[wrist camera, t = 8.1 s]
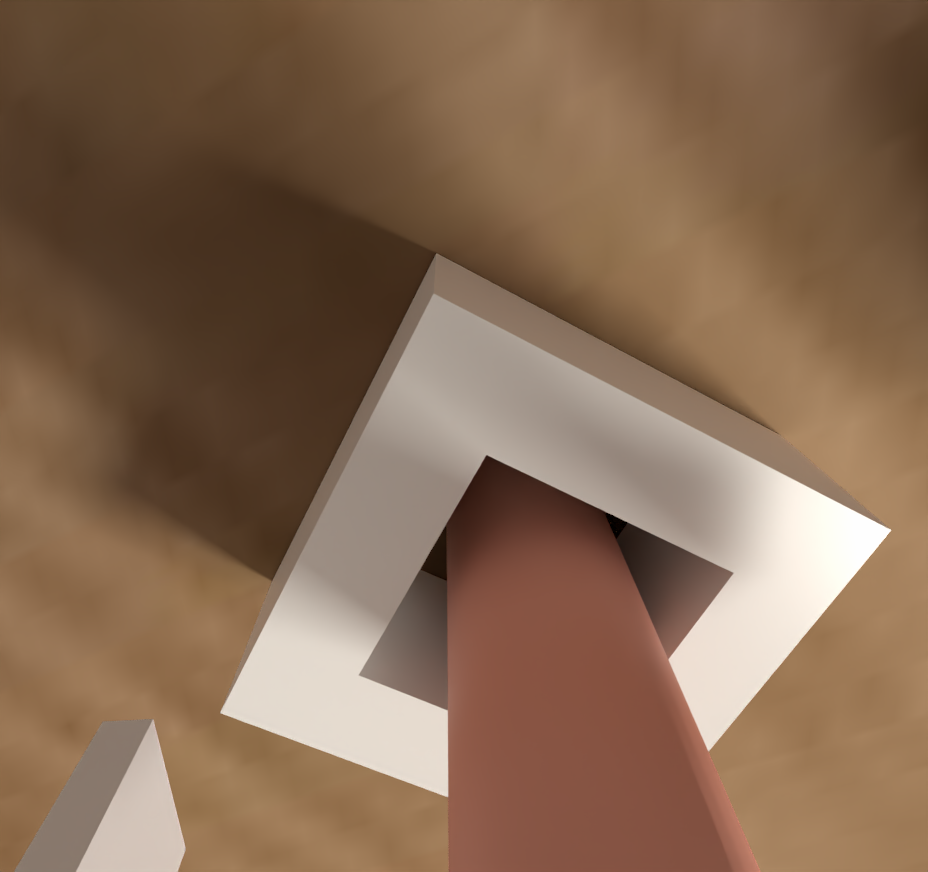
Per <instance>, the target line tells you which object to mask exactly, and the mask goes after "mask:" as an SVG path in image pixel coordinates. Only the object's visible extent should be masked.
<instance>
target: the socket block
mask: <svg viewBox="0 0 928 872" xmlns="http://www.w3.org/2000/svg"><path fill="white" fill-rule="evenodd" d="M486 455H488V456H490V457H492V458H494V459H496V460H498V461H500V462H502V463H504V464H506V465H508V466H511V467H513V468H515V469H517V470H519V471H521V472H523V473H525V474H527V475H529V476H532V477H534V478H536V479H538V480H540V481H542V482H544V483H546V484H548V485H550V486H553V487H555V488H557V489H559V490H561V491H563V492H565V493H567V494H569V495H571V496H573V497H576V498H578V499H580V500H582V501H584V502H586V503H588V504H590V505H592V506H594V507H597V508H599V509H601V510H603V511H605V512H607V513H609V514H611V515H613V516H615V517H618V518H620V519H622V520H624V521H626V522H628V523H627V524H626V526H625V527H624V529H623V530H622V532H621V533H620V534H619V536H618V537H617V539H616V541H617V543H618V545H619V547H620V550H621V552H622V554H623V557H624V559H625V561H626V564H627V566H628V568H629V570H630V573H631V575H632V577H633V580H634V582H635V584H636V586H637V589H638V591H639V593H640V596H641V598H642V600H643V603H644V605H645V607H646V609H647V612H648V614H649V616H650V619H651V621H652V623H653V626H654V628H655V630H656V632H657V635H658V637H659V639H660V642H661V644H662V646H663V649H664V651H665V653H666V655H667V658H668V660H669V662H670V665H671V667H672V669H673V672H674V674H675V676H676V678H677V681H678V683H679V685H680V688H681V690H682V692H683V694H684V697H685V699H686V701H687V704H688V706H689V708H690V711H691V713H692V715H693V717H694V720H695V722H696V724H697V727H698V729H699V731H700V734H701V736H702V738H703V740H704V743H705V745H706V747H707V750H708V751H709V750H710V749H711V748H712V747H713V745H714V744H715V743H716V742H717V741H718V739H719V738H720V737H721V736H722V734H723V733H724V732H725V731H726V730H727V728H728V727H729V726H730V725H731V724H732V722H733V721H734V720H735V719H736V718H737V716H738V715H739V714H740V713H741V711H742V710H743V709H744V708H745V707H746V705H747V704H748V703H749V702H750V701H751V699H752V698H753V697H754V696H755V695H756V693H757V692H758V691H759V690H760V688H761V687H762V686H763V685H764V684H765V682H766V681H767V680H768V679H769V678H770V676H771V675H772V674H773V673H774V672H775V670H776V669H777V668H778V667H779V665H780V664H781V663H782V662H783V661H784V659H785V658H786V657H787V656H788V655H789V653H790V652H791V651H792V650H793V649H794V647H795V646H796V645H797V644H798V642H799V641H800V640H801V639H802V638H803V636H804V635H805V634H806V633H807V632H808V630H809V629H810V628H811V627H812V626H813V624H814V623H815V622H816V621H817V619H818V618H819V617H820V616H821V615H822V613H823V612H824V611H825V610H826V609H827V607H828V606H829V605H830V604H831V603H832V601H833V600H834V599H835V598H836V596H837V595H838V594H839V593H840V592H841V590H842V589H843V588H844V587H845V586H846V584H847V583H848V582H849V581H850V580H851V578H852V577H853V576H854V575H855V573H856V572H857V571H858V570H859V569H860V567H861V566H862V565H863V564H864V563H865V561H866V560H867V559H868V558H869V557H870V555H871V554H872V553H873V552H874V550H875V549H876V548H877V547H878V546H879V544H880V543H881V542H882V541H883V540H884V538H885V537H886V536H887V535H888V534H889V532H890V531H891V529H889V528H888V527H887V526H886V525H885V524H884V523H882V522H881V521H880V520H879V519H878V518H877V517H875V516H874V515H873V514H872V513H871V512H870V511H868V510H867V509H866V508H865V507H864V506H863V505H861V504H860V503H859V502H858V501H857V500H856V499H854V498H853V497H852V496H851V495H850V494H849V493H847V492H846V491H845V490H844V489H843V488H842V487H840V486H839V485H838V484H837V483H836V482H835V481H833V480H832V479H831V478H830V477H829V476H828V475H826V474H825V473H824V472H823V471H822V470H821V469H819V468H818V467H817V466H816V465H815V464H814V463H812V462H811V461H810V460H809V459H808V458H807V457H806V456H804V455H803V454H802V453H801V452H800V451H799V450H797V449H796V448H795V447H794V446H793V445H792V444H790V443H789V442H788V441H787V440H786V439H785V438H783V437H782V436H781V435H779V434H777V433H775V432H773V431H771V430H770V429H768V428H766V427H764V426H762V425H760V424H758V423H756V422H754V421H753V420H751V419H749V418H747V417H745V416H743V415H741V414H739V413H737V412H736V411H734V410H732V409H730V408H728V407H726V406H724V405H722V404H720V403H719V402H717V401H715V400H713V399H711V398H709V397H707V396H705V395H704V394H702V393H700V392H698V391H696V390H694V389H692V388H690V387H688V386H687V385H685V384H683V383H681V382H679V381H677V380H675V379H673V378H671V377H670V376H668V375H666V374H664V373H662V372H660V371H658V370H656V369H654V368H653V367H651V366H649V365H647V364H645V363H643V362H641V361H639V360H637V359H636V358H634V357H632V356H630V355H628V354H626V353H624V352H622V351H620V350H619V349H617V348H615V347H613V346H611V345H609V344H607V343H605V342H603V341H602V340H600V339H598V338H596V337H594V336H592V335H590V334H588V333H586V332H585V331H583V330H581V329H579V328H577V327H575V326H573V325H571V324H569V323H568V322H566V321H564V320H562V319H560V318H558V317H556V316H554V315H552V314H551V313H549V312H547V311H545V310H543V309H541V308H539V307H537V306H535V305H534V304H532V303H530V302H528V301H526V300H524V299H522V298H520V297H518V296H517V295H515V294H513V293H511V292H509V291H507V290H505V289H503V288H501V287H500V286H498V285H496V284H494V283H492V282H490V281H488V280H486V279H484V278H483V277H481V276H479V275H477V274H475V273H473V272H471V271H469V270H467V269H466V268H464V267H462V266H460V265H458V264H456V263H454V262H452V261H450V260H449V259H447V258H445V257H443V256H441V255H439V254H437V253H436V255H435V257H434V259H433V261H432V263H431V265H430V267H429V269H428V271H427V273H426V275H425V277H424V279H423V281H422V283H421V285H420V287H419V289H418V291H417V293H416V295H415V297H414V299H413V301H412V303H411V305H410V307H409V309H408V311H407V313H406V315H405V317H404V319H403V321H402V323H401V325H400V327H399V329H398V331H397V333H396V335H395V337H394V339H393V341H392V343H391V345H390V347H389V349H388V351H387V353H386V355H385V357H384V359H383V361H382V363H381V365H380V367H379V369H378V371H377V373H376V375H375V377H374V379H373V381H372V383H371V385H370V387H369V389H368V391H367V393H366V395H365V397H364V399H363V401H362V403H361V405H360V407H359V409H358V411H357V413H356V415H355V417H354V419H353V421H352V423H351V425H350V427H349V429H348V431H347V433H346V435H345V437H344V439H343V441H342V443H341V445H340V447H339V449H338V451H337V453H336V455H335V457H334V459H333V461H332V463H331V465H330V467H329V469H328V471H327V473H326V475H325V477H324V479H323V481H322V483H321V485H320V487H319V489H318V491H317V493H316V495H315V497H314V499H313V501H312V503H311V505H310V507H309V509H308V510H307V512H306V514H305V516H304V518H303V520H302V522H301V524H300V526H299V528H298V530H297V532H296V534H295V536H294V538H293V540H292V542H291V544H290V546H289V548H288V550H287V552H286V554H285V556H284V558H283V560H282V562H281V564H280V566H279V568H278V570H277V572H276V574H275V576H274V578H273V580H272V583H271V585H270V588H269V590H268V593H267V595H266V598H265V600H264V603H263V605H262V608H261V610H260V613H259V616H258V618H257V621H256V623H255V626H254V628H253V631H252V633H251V636H250V638H249V641H248V644H247V646H246V649H245V651H244V654H243V656H242V659H241V661H240V664H239V666H238V669H237V671H236V674H235V677H234V679H233V682H232V684H231V687H230V689H229V692H228V694H227V697H226V699H225V702H224V705H223V707H222V710H221V712H220V713H222V714H224V715H227V716H230V717H232V718H235V719H238V720H241V721H243V722H246V723H249V724H251V725H254V726H257V727H259V728H262V729H265V730H268V731H270V732H273V733H276V734H278V735H281V736H284V737H286V738H289V739H292V740H295V741H297V742H300V743H303V744H305V745H308V746H311V747H314V748H316V749H319V750H322V751H324V752H327V753H330V754H332V755H335V756H338V757H341V758H343V759H346V760H349V761H351V762H354V763H357V764H360V765H362V766H365V767H368V768H370V769H373V770H376V771H378V772H381V773H384V774H387V775H389V776H392V777H395V778H397V779H400V780H403V781H406V782H408V783H411V784H414V785H416V786H419V787H422V788H424V789H427V790H430V791H433V792H435V793H438V794H441V795H443V796H446V797H448V667H447V581H446V580H443V579H441V578H439V577H436V576H434V575H432V574H429V573H427V572H425V571H422V570H420V569H421V567H422V565H423V563H424V562H425V560H426V558H427V556H428V555H429V553H430V551H431V550H432V548H433V546H434V544H435V543H436V541H437V539H438V537H439V536H440V534H441V532H442V531H443V529H444V527H445V525H446V524H447V522H448V520H449V519H450V517H451V515H452V513H453V512H454V510H455V508H456V506H457V505H458V503H459V501H460V500H461V498H462V496H463V494H464V493H465V491H466V489H467V487H468V486H469V484H470V482H471V481H472V479H473V477H474V475H475V474H476V472H477V470H478V469H479V467H480V465H481V463H482V462H483V460H484V458H485V456H486Z"/></svg>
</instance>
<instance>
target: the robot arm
mask: <svg viewBox="0 0 928 872" xmlns="http://www.w3.org/2000/svg"><path fill="white" fill-rule="evenodd" d="M185 850H186V848H185V844H184V840H183V836H182V832H181V828H180V824H179V820H178V816H177V812H176V808H175V804H174V800H173V796H172V792H171V788H170V784H169V780H168V776H167V772H166V768H165V764H164V760H163V756H162V752H161V748H160V744H159V740H158V736H157V732H156V728H155V724H154V720H153V719H145V720H125V721H105V722H102V724H101V726H100V727H99V729H98V731H97V732H96V734H95V736H94V737H93V739H92V741H91V742H90V744H89V746H88V748H87V749H86V751H85V753H84V754H83V756H82V758H81V759H80V761H79V763H78V764H77V766H76V768H75V770H74V771H73V773H72V775H71V776H70V778H69V780H68V781H67V783H66V785H65V786H64V788H63V790H62V792H61V793H60V795H59V797H58V798H57V800H56V802H55V803H54V805H53V807H52V808H51V810H50V812H49V814H48V815H47V817H46V819H45V820H44V822H43V824H42V825H41V827H40V829H39V830H38V832H37V834H36V836H35V837H34V839H33V841H32V842H31V844H30V846H29V847H28V849H27V851H26V852H25V854H24V856H23V857H22V859H21V861H20V863H19V864H18V866H17V868H16V869H15V871H14V872H177V871H178V869H179V866H180V863H181V860H182V858H183V855H184V852H185Z"/></svg>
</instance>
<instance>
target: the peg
mask: <svg viewBox="0 0 928 872" xmlns="http://www.w3.org/2000/svg"><path fill="white" fill-rule="evenodd" d="M447 667H448V833H449V872H761V871H760V869H759V867H758V865H757V862H756V860H755V858H754V855H753V853H752V851H751V848H750V846H749V844H748V842H747V839H746V837H745V835H744V832H743V830H742V828H741V825H740V823H739V821H738V819H737V816H736V814H735V812H734V809H733V807H732V805H731V802H730V800H729V798H728V796H727V793H726V791H725V789H724V786H723V784H722V782H721V780H720V777H719V775H718V773H717V770H716V768H715V766H714V763H713V761H712V759H711V757H710V754H709V752H708V750H707V747H706V745H705V743H704V740H703V738H702V736H701V734H700V731H699V729H698V727H697V724H696V722H695V720H694V717H693V715H692V713H691V711H690V708H689V706H688V704H687V701H686V699H685V697H684V694H683V692H682V690H681V688H680V685H679V683H678V681H677V678H676V676H675V674H674V672H673V669H672V667H671V665H670V662H669V660H668V658H667V655H666V653H665V651H664V649H663V646H662V644H661V642H660V639H659V637H658V635H657V632H656V630H655V628H654V626H653V623H652V621H651V619H650V616H649V614H648V612H647V609H646V607H645V605H644V603H643V600H642V598H641V596H640V593H639V591H638V589H637V586H636V584H635V582H634V580H633V577H632V575H631V573H630V570H629V568H628V566H627V564H626V561H625V559H624V557H623V554H622V552H621V550H620V547H619V545H618V543H617V541H616V538H615V536H614V534H613V531H612V529H611V527H610V524H609V522H608V520H607V518H606V515H605V513H604V511H603V510H601V509H599V508H597V507H594V506H592V505H590V504H588V503H586V502H584V501H582V500H580V499H578V498H576V497H573V496H571V495H569V494H567V493H565V492H563V491H561V490H559V489H557V488H555V487H553V486H550V485H548V484H546V483H544V482H542V481H540V480H538V479H536V478H534V477H532V476H529V475H527V474H525V473H523V472H521V471H519V470H517V469H515V468H513V467H511V466H508V465H506V464H504V463H502V462H500V461H498V460H496V459H494V458H492V457H490V456H488V455H486V456H485V458H484V460H483V462H482V463H481V465H480V467H479V469H478V470H477V472H476V474H475V475H474V477H473V479H472V481H471V482H470V484H469V486H468V487H467V489H466V491H465V493H464V494H463V496H462V498H461V500H460V501H459V503H458V505H457V506H456V508H455V510H454V512H453V513H452V515H451V517H450V519H449V520H448V522H447Z"/></svg>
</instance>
